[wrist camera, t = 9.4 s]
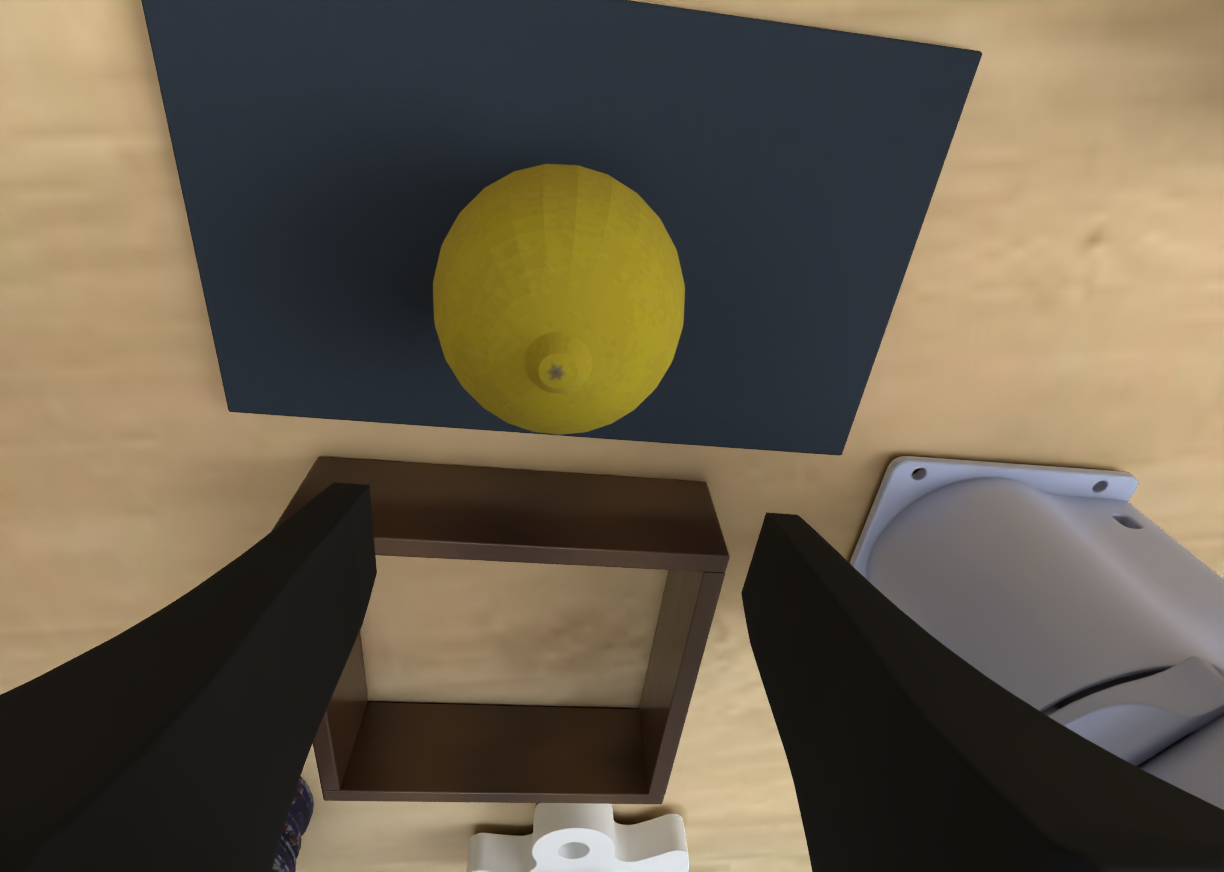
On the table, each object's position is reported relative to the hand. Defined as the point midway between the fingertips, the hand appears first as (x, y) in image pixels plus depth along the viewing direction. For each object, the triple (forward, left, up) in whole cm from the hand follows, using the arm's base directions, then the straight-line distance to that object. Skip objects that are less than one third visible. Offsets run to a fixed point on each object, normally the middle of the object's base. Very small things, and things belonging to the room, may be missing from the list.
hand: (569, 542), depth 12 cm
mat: (0, -3, -10) cm, 10 cm away
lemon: (0, -3, -9) cm, 10 cm away
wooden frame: (+1, +11, -10) cm, 15 cm away
